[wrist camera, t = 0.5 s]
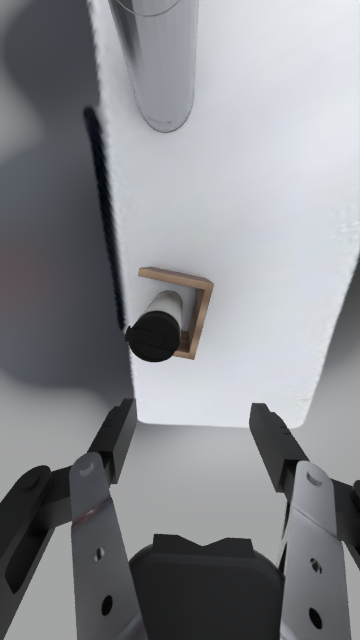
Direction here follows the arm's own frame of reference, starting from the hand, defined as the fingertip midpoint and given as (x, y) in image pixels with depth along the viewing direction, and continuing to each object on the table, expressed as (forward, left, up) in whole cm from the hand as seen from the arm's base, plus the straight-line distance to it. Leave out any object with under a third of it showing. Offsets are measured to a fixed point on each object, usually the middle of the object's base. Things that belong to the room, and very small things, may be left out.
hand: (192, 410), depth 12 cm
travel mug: (0, -4, -29) cm, 29 cm away
